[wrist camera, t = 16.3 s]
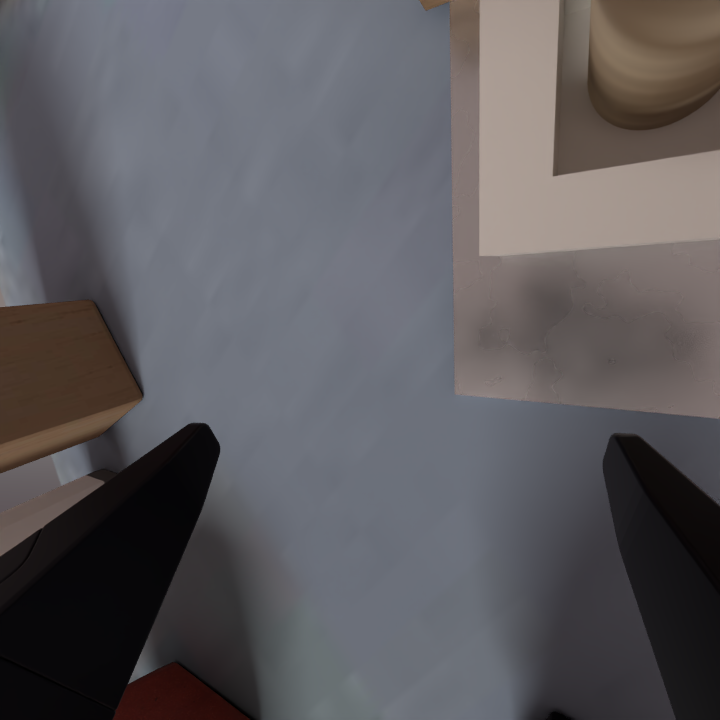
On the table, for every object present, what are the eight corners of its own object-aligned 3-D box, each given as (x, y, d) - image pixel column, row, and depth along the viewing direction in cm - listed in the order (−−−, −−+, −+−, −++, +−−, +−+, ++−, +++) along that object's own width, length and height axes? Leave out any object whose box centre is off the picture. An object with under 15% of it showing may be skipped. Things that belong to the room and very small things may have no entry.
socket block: (839, 230, 12) (936, 220, 9) (498, 256, 17) (479, 256, 14) (921, -188, 10) (1091, -408, 7) (501, -20, 15) (479, -99, 11)
